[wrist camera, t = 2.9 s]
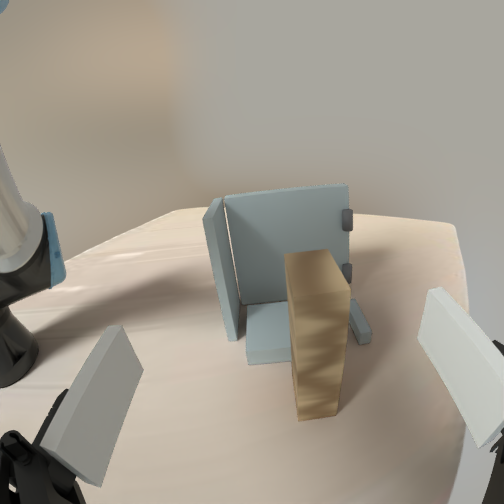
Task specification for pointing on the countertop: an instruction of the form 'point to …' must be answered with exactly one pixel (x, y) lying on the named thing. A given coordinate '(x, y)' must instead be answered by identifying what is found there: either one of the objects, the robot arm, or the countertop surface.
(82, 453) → the robot arm
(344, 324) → the door panel
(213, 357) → the countertop surface
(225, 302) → the cabinet
